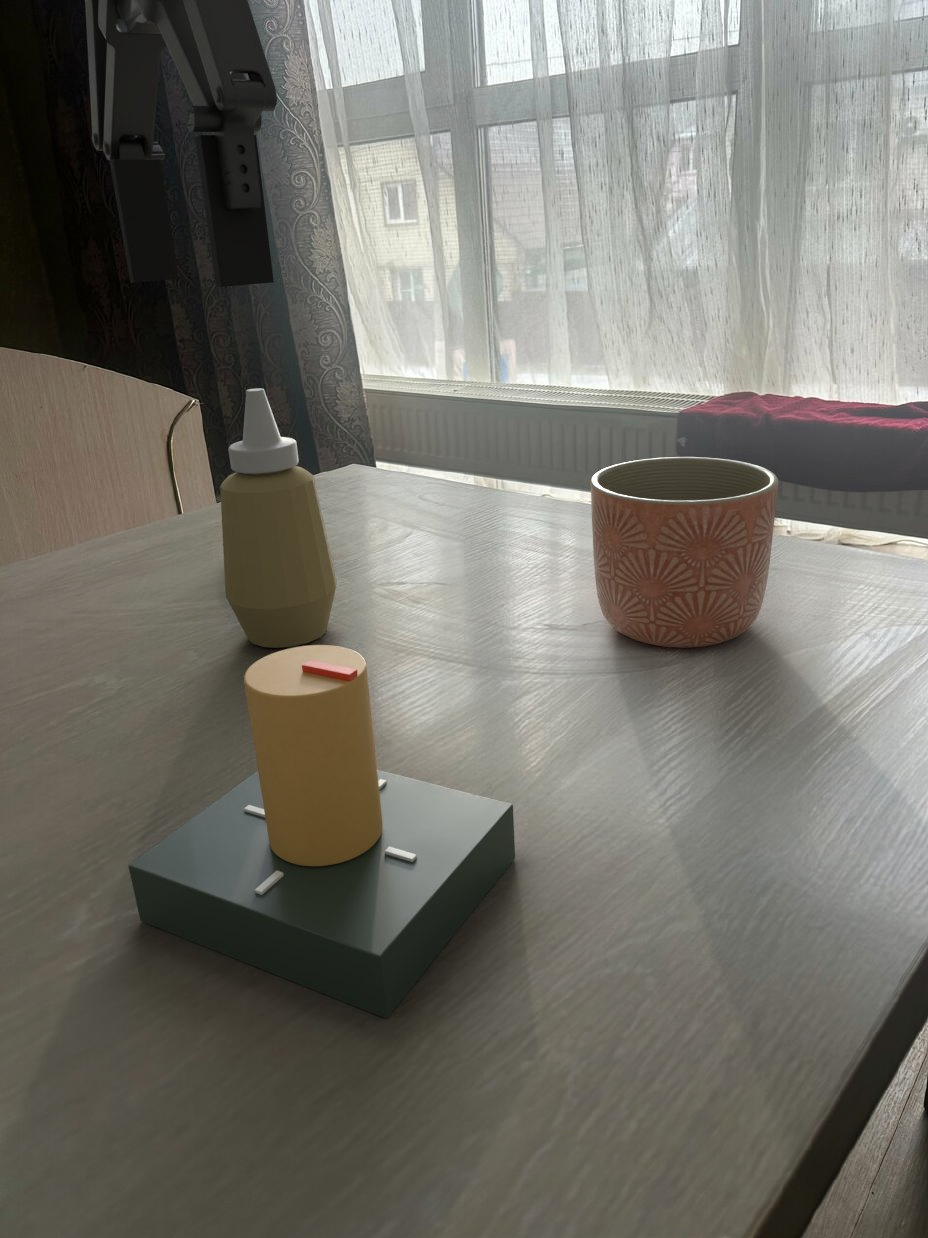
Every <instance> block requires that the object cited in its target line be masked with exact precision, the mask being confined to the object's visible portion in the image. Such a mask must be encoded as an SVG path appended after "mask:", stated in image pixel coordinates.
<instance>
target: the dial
mask: <svg viewBox="0 0 928 1238" xmlns="http://www.w3.org/2000/svg"><path fill="white" fill-rule="evenodd" d="M367 667H368V666H367V662H366V660H365V658H364V656H363V655H361V653H360V652H357V651H356V650H353V649H350V648H348V647H344V646H340V645H339V646H338V645H331V644H329V645H328V644H310V645H301V646H294V647H288V648H286V649H282V650H279V651H276V652H272V653H270V654H268V655H265V656H263V657H262V658H260V659H258V660H257V661H254V662H253V664H250V666H249V667H248V668H247V670H246V671H245V673H244V676H243V683H244V690H245V696H246V702H247V710H248V716H249V722H250V728H251V735H252V741H253V747H254V754H255V761H256V766H257V770H258V774H259V780H260V787H261V793H262V800H263V806H264V812H265V819H266V825H267V832H268V838H269V843H270V847H271V848H272V850H273V852H274V853H275V854H276V855H277V856H278V857H280V858H281V859H283V860H285V861H287V862H290V863H292V864H296V865H302V866H328V865H334V864H338V863H342V862H345V861H348V860H351V859H353V858H355V857H357V856H359V855H361V854H363V853H364V852H366V851H367V850H369V849H370V848H371V847H372V846H373V845H374V844H375V843H376V842H377V840H378V839H379V837H380V835H381V833H382V828H383V822H382V812H381V802H380V792H379V783H378V773H377V770H378V764H377V763H378V762H377V753H376V745H375V744H376V743H375V736H374V726H373V715H372V704H371V697H370V687H369V686H370V685H369V678H368V677H369V676H368V668H367Z"/></svg>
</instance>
